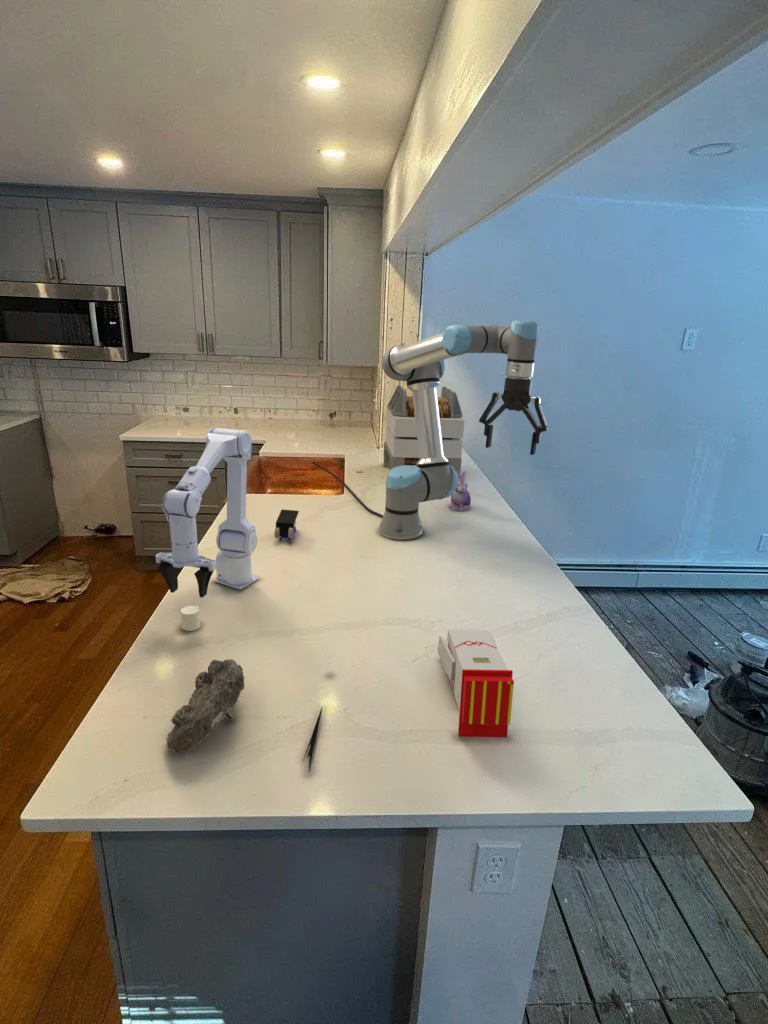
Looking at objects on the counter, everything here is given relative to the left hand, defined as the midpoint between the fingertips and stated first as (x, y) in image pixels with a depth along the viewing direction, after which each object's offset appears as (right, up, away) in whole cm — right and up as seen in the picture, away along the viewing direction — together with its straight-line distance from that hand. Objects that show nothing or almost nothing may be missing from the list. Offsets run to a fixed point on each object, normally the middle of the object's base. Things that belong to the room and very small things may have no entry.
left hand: (188, 593), depth 135 cm
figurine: (+77, +21, +94) cm, 124 cm away
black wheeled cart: (+13, +11, +58) cm, 61 cm away
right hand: (+84, +38, +34) cm, 98 cm away
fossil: (+14, -20, -27) cm, 36 cm away
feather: (+34, -20, -26) cm, 48 cm away
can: (0, -8, +3) cm, 9 cm away
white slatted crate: (+64, +38, +140) cm, 159 cm away
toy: (+64, -18, -16) cm, 69 cm away
